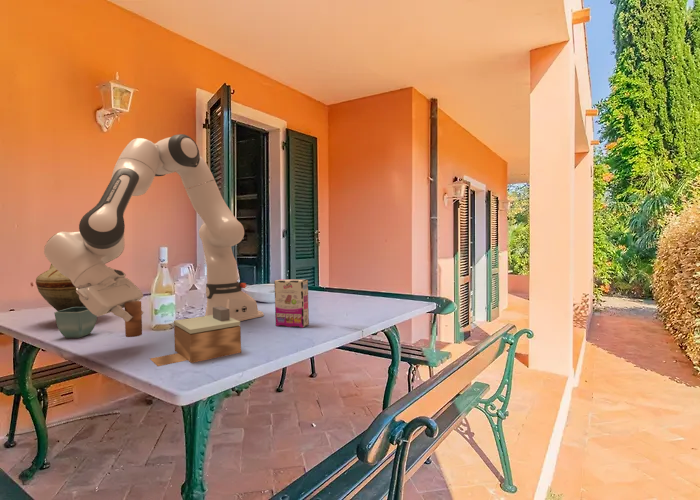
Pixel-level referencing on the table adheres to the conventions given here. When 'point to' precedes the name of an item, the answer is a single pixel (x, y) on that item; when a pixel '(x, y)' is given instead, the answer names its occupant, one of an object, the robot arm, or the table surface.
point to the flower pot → (75, 322)
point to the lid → (208, 321)
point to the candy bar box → (291, 303)
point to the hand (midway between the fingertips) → (135, 317)
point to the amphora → (58, 290)
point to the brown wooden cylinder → (133, 319)
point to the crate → (202, 345)
